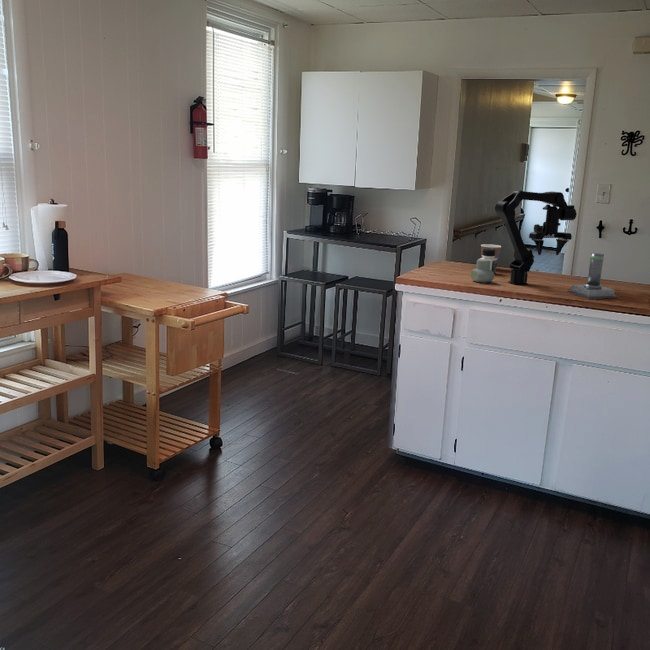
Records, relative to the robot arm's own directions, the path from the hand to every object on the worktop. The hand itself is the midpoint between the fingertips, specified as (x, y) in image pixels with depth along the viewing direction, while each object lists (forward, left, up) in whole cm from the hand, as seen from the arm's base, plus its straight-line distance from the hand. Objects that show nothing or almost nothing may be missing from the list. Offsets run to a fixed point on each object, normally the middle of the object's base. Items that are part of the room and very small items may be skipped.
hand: (548, 255), depth 305 cm
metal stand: (+4, -28, -13) cm, 31 cm away
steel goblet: (+4, -28, -10) cm, 30 cm away
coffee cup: (-6, +40, -13) cm, 43 cm away
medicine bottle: (-14, +28, -13) cm, 34 cm away
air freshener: (-29, +6, -13) cm, 32 cm away
